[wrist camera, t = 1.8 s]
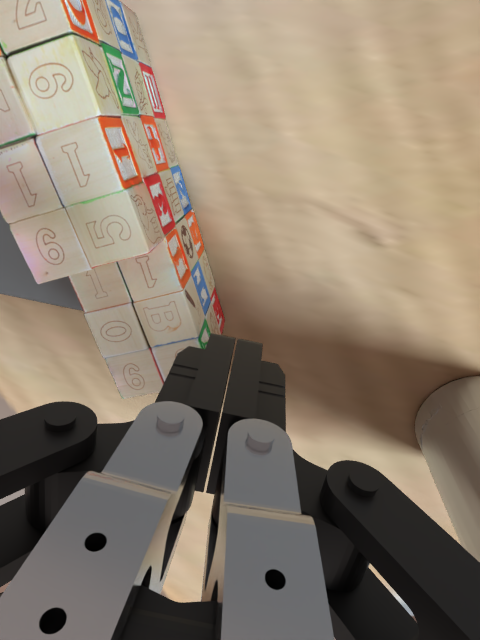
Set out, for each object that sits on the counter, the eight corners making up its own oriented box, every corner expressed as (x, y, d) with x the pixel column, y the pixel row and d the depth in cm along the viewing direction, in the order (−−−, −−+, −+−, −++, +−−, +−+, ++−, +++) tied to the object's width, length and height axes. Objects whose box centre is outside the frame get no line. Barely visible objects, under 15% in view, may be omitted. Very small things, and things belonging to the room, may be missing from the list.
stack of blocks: (228, 320, 35) (207, 414, 24) (155, 335, 36) (102, 432, 25) (135, 10, 27) (36, -72, 15) (44, 42, 28) (-111, -13, 16)
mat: (99, 23, 27) (98, 22, 27) (89, 310, 36) (87, 311, 35) (-71, -11, 27) (-74, -13, 27) (-42, 283, 36) (-44, 284, 35)
